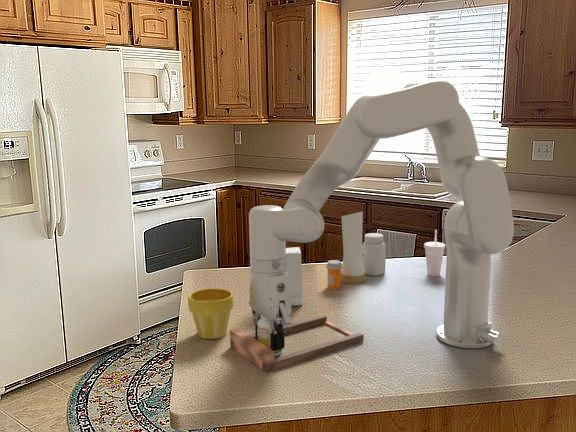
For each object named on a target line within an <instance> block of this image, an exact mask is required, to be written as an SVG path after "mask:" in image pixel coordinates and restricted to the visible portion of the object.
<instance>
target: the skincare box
mask: <svg viewBox="0 0 576 432" xmlns="http://www.w3.org/2000/svg"><path fill="white" fill-rule="evenodd" d="M286 273H287V275H288V280H289V286H290V295H291V306H303V303H304V302H303V276H302V275H303V274H302V273H303V272H302V251H301V248H300V246H296V247H295V246H294V247H286Z"/></svg>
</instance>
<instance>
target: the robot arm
mask: <svg viewBox="0 0 576 432" xmlns="http://www.w3.org/2000/svg"><path fill="white" fill-rule="evenodd" d="M473 126H474V125H473V123H472V120H471V117H470V116H469V114H468V112H467V111H466V109H465V108H464V106H462V104H461V103H460V100H459V93H458V91H457V89H456V87H455V86H454V85H453V84H451V83H450V82H449V81H447V80H444V79H420V80H415V81H411V82H410V83H407V84H405V86H404V87H403V88H402V89H400V90H399V89H398V90H394V91H390V92H385V93H381V94H379V93H378V94H377V93H376V94H375V93H374V94H366V95H362V96H361V97H359V98H358V99H356V101H355V102H353V104H352V106H351V107H350V108H349V111H348V112H347V113H346V115H345V117H344V119H343V120H342V122H341V123H339V126H338V128H337V129H336V131H335V132H334V134H333V136H332V138H331V139H330V140H329V142H328V143H327V145H326V147H325V148H324V150H323V151H322V153H321V154H320V155H319V156H318V158H317V159H316V160H315V161H314V163H313V164H312V165H311V166H310V167H309V168H308V170H307V171H306V172H305V174H303V176H302V178H301V179H300V180H299V181H298V183H297V184H296V186H295V188H294V189H293V191H292V192H291V194H290V195H289V197H288V199H287V201H286V202H285V204H284V206H283V208H282V207H281V206H278V205H271V204H267V205H266V204H265V205H264V204H263V205H257V206H253V207H252V208H251V209H250V210H249V212H248V230H249V231H248V234H249V235H248V236H249V237H248V238H249V239H248V240H249V264H250V266H249V267H250V269H249V270H250V277H249V303H248V304H249V306H250V309H251V313H252V315H253V322H254V327H255V333H256V340H257V322H258V320H259V319H261V317H260V315H262V316H264V317H265V318H267V319H269V320H270V323H271V328H272V333H270V339H271V350H273V351H277V350H280V349H282V350H283V349H284V348H285V335H284V332H285V331H286V328H287V327H288V326H289V325H290V324H291V323H292V320H291V316H292V305H291V295H290V286H289V280H288V275H287V273H286V248H287V247H286V245H287V244H286V242H292V243H301V244H307V243H312V242H314V241H316V240H318V239H319V238H320V237H321V236H322V234H323V233H324V230H325V221H324V218H323V216H322V214H321V213H320V210H321V209H322V207H323V206H324V204H325V203H326V202H327V200H328V198H330V196H331V195H332V194H333V193H334V192H335V191H336V190H337V189H338V188H339V187H340V186H342V185H344V184H346V183H348V182H349V181H352V180H353V179H354V178H355V177H356V176H357V175H358V174H359V172H360V171H361V169H362V167H363V166H364V165H365V163H366V162H367V160H368V158H369V157H370V155H371V154H372V152H373V151H374V148H375V147H376V146H377V144H378V143H379V141H380V139H388V138H389V139H391V138H394V137H398V136H402V135H407V134H410V133H413V132H416V131H419V130H423V129H427V131H428V132H429V133H430V136H431V138H432V142H433V145H434V149H435V153H436V159H437V165H438V171H439V175H440V181H441V184H442V187H443V189H444V190H445V192H446V193H448V194H449V195H451V196H453V197H455V198H458V199H460V200H461V201H460V200H459V201H458V202H456V203H453V205H451V206H450V208H448V211H447V213H446V215H445V218H444V226H443V227H444V236H445V249H446V262H445V263H446V264H445V265H446V266H445V282H444V283H445V284H444V306H443V324H441V325H438V327H437V328H436V330H435V333H436V334H435V335H436V338H438V340H439V341H441V342H443V343H444V344H446V345H449V346H453V347H457V348H462V349H482V348H486V347H488V346H491V345H492V344H493V345H495V346H496V345H498V344H499V342H500V338H501V336H502V334H501V333H500V332H498V331H496V330H495V331H494V330H493V329H492V324H493V323H492V322H490V321H489V320H488V318H489V303H490V285H491V273H492V257H491V255H497V254H500V253H503V251H505V250H507V248H509V246H510V244H511V243H512V241H513V237H514V233H515V226H514V224H515V223H514V218H513V217H514V216H513V209H512V204H511V198H510V193H509V187H508V183H507V177H506V175H505V173H504V171H503V169H502V168H501V167H500V165H499V164H498V163H497V162H496V161H494V160H492V159H491V158H487V157H485V156H481V154H480V151H479V147H478V142H477V139H476V134H475V130H474V127H473ZM276 315H279V317H277V318H276ZM276 321H279V322H280V324H278V325H277V326H276V323H275V322H276ZM255 333H254V334H255ZM257 341H258V340H257Z"/></svg>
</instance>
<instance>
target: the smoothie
mask: <svg viewBox="0 0 576 432" xmlns="http://www.w3.org/2000/svg"><path fill="white" fill-rule="evenodd" d="M437 235H438V229H435V230H434V241H427V242H424V243H423V244H424V245H423V248H424V252H425V260H426V273H427V276H430V277H439V276H440V275H441V270H442V264H443V258H444V251H445V249H446V243H443V242H440V241H437V239H438V238H437V237H438V236H437Z"/></svg>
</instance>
